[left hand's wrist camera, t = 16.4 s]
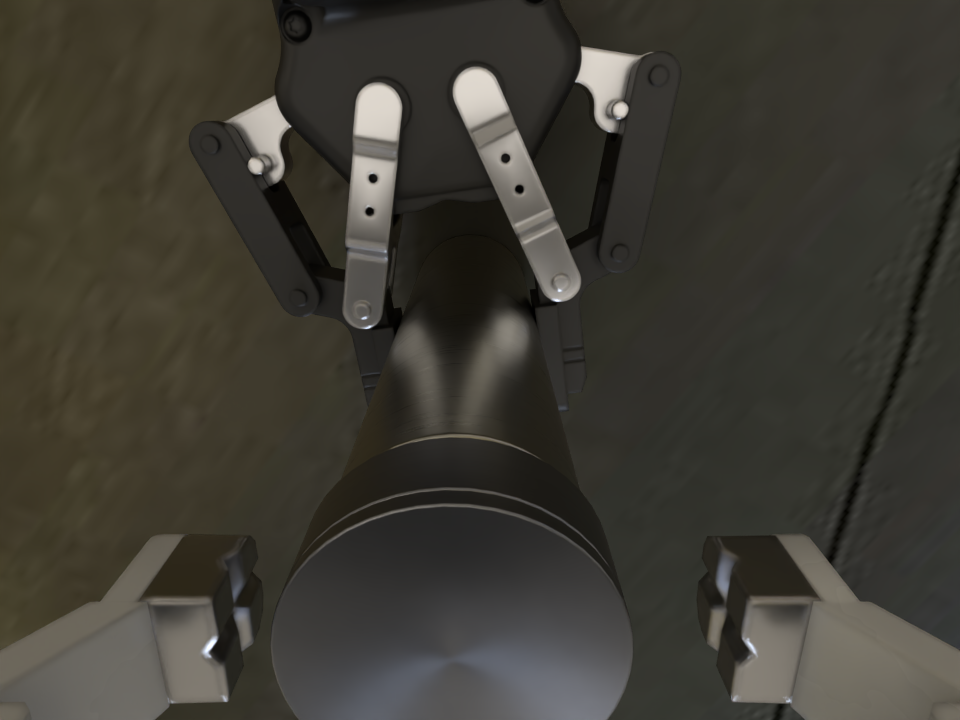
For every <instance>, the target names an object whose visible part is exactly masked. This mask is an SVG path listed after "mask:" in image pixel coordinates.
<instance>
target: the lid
mask: <svg viewBox="0 0 960 720" xmlns="http://www.w3.org/2000/svg"><path fill="white" fill-rule="evenodd" d="M270 644H271V655H272V664H273V667H274V671H275V675H276V679H277V682H278V684H279V687H280V689H281V691H282V693H283V696H284V698H285V700H286V701H287V703H288V705H289V706H290V708H291V709H292V711H293V713H294V714H295V715H296V717H297V718H298V719H299V720H608V718H609V717H610V715H611V714H612V713H613V711H614V710H615V708H616V707H617V705H618V703H619V701H620V699H621V697H622V695H623V693H624V691H625V688H626V684H627V681H628V678H629V675H630V672H631V665H632V658H633V633H632V628H631V622H630V617H629V613H628V610H627V607H626V603H625V600H624V596H623V593H622V590H621V586H620V583H619V579H618V576H617V573H616V569H615V566H614V563H613V559H612V556H611V552H610V549H609V546H608V542H607V539H606V536H605V533H604V530H603V528H602V525H601V522H600V520H599V518H598V516H597V515H596V513H595V511H594V509H593V507H592V505H591V504H590V503H589V501H588V500H587V499H586V498H585V496H584V495H583V494H582V492H581V491H580V490H579V489H578V488H577V487H576V486H575V485H574V484H573V483H572V482H571V481H570V480H569V479H568V478H567V477H566V476H564V475H563V474H562V473H560V472H559V471H558V470H556V469H555V468H554V467H552V466H551V465H549V464H548V463H546V462H544V461H542V460H541V459H539V458H537V457H535V456H533V455H532V454H529V453H527V452H524V451H522V450H519V449H517V448H514V447H512V446H508V445H504V444H501V443H497V442H493V441H488V440H481V439H474V438H456V437H447V438H436V439H426V440H422V441H417V442H412V443H407V444H404V445H401V446H398V447H395V448H392V449H389V450H387V451H385V452H383V453H381V454H378V455H376V456H374V457H372V458H370V459H368V460H367V461H365V462H364V463H362V464H361V465H359V466H357V467H356V468H354V469H353V470H351V471H350V472H349V473H348V474H347V475H346V476H345V477H343V478H342V479H341V480H340V481H339V482H338V483H337V484H336V485H335V486H334V487H333V488H332V489H331V491H330V492H329V493H328V494H327V495H326V496H325V498H324V499H323V501H322V502H321V504H320V506H319V507H318V509H317V510H316V512H315V514H314V516H313V519H312V521H311V523H310V526H309V528H308V530H307V533H306V535H305V538H304V540H303V542H302V545H301V547H300V550H299V552H298V555H297V557H296V559H295V562H294V564H293V567H292V569H291V572H290V574H289V576H288V579H287V581H286V584H285V586H284V589H283V591H282V593H281V596H280V598H279V601H278V603H277V606H276V609H275V614H274V618H273V622H272V628H271V642H270Z"/></svg>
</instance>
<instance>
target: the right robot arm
mask: <svg viewBox="0 0 960 720" xmlns="http://www.w3.org/2000/svg"><path fill="white" fill-rule="evenodd" d="M272 2H273V6H274V11H275V15H276V19H277V23H278V27H279V31H280V38H281V58H280V64H279V68H278V72H277V75H276V79H275V96H273V97H271V98H269V99H267V100H265V101H263V102H261V103H259V104H257V105H256V106H254V107H252V108H250V109H248V110H246V111H244V112H242V113H240V114H238V115H236V116H234V117H233V118H231V119H229V120H226V121H205V122H201V123H199V124H197V125H196V126H195V127H194V128H193V129H192V131H191V133H190V136H189V147H190V150H191V152H192V154H193V156H194V158H195V159H196V161H197V163H198V164H199V166H200V168H201V169H202V171H203V173H204V175H205V176H206V178H207V180H208V181H209V183H210V185H211V186H212V188H213V190H214V192H215V193H216V195H217V197H218V198H219V200H220V202H221V204H222V205H223V207H224V209H225V210H226V212H227V214H228V215H229V217H230V219H231V221H232V222H233V224H234V226H235V227H236V229H237V231H238V233H239V234H240V236H241V238H242V239H243V241H244V243H245V244H246V246H247V248H248V250H249V251H250V253H251V255H252V256H253V258H254V260H255V262H256V263H257V265H258V267H259V268H260V270H261V272H262V273H263V275H264V277H265V279H266V280H267V282H268V284H269V285H270V287H271V289H272V290H273V292H274V294H275V296H276V297H277V299H278V301H279V302H280V304H281V306H282V307H283V309H284V310H285V311H286V312H288V313H289V314H291V315H294V316H297V317H304V316H308V315H310V314H315V315H321V316H326V317H331V318H334V319H337V320H339V321H341V322H342V323H343V324H345V325H346V327H347V328H348V329H349V331H350V332H351V334H352V338H353V342H354V347H355V351H356V355H357V360H358V364H359V369H360V373H361V376H362V382H363V387H364V391H365V396H366V400H367V405H368V407H369V404H370V402H371V399H372V396H373V394H374V391H375V388H376V386H377V383H378V381H379V378H380V375H381V373H382V370H383V367H384V365H385V362H386V359H387V357H388V354H389V351H390V349H391V346H392V343H393V341H394V338H395V335H396V333H397V330H398V328H399V325H400V322H401V320H402V317H403V315H402V310H401V307H400V308H394V307H393V302H392V297H391V296H392V291H393V283H394V274H395V266H396V257H397V248H398V242H399V237H400V232H401V226H402V218H403V213H409V212H416V211H421V210H423V209H425V208H428V207H430V206H432V205H434V204H437V203H439V202H441V201H443V200H455V201H463V202H471V203H477V202H483V201H490V200H497V199H500V201H501V203H502V206H503V208H504V210H505V212H506V214H507V216H508V219H509V221H510V223H511V225H512V227H513V229H514V232H515V234H516V236H517V237H518V239H519V241H520V244H521V246H522V248H523V250H524V252H525V254H526V257H527V259H528V261H529V263H530V265H531V268H532V270H533V272H534V278H535V286H536V289H531V290H530V295H531V303H532V310H533V314H534V318H535V321H536V325H537V329H538V333H539V337H540V340H541V344H542V348H543V352H544V356H545V359H546V363H547V367H548V371H549V375H550V378H551V382H552V386H553V390H554V394H555V397H556V401H557V405H558V409H559V412H563V411H569V406H568V396H567V394H569V393H576V392H582V390H583V386H584V383H585V380H586V377H587V375H586V365H585V355H584V344H583V334H582V324H581V313H580V299H581V296H582V293H583V292H584V290H585V289H586V287H587V286H588V285H590V284H591V283H592V282H594V281H596V280H598V279H600V278H601V277H603V276H605V275H607V274H609V273H611V272H614V273H623V272H626V271H628V270H630V269H631V268H633V267H634V266H635V265H636V263H637V262H638V260H639V257H640V253H641V249H642V245H643V240H644V236H645V232H646V227H647V223H648V219H649V214H650V210H651V206H652V201H653V197H654V192H655V188H656V184H657V179H658V175H659V171H660V166H661V162H662V158H663V153H664V149H665V145H666V140H667V136H668V132H669V127H670V123H671V119H672V114H673V110H674V106H675V101H676V97H677V93H678V88H679V84H680V80H681V67H680V64H679V62H678V60H677V59H676V58H675V57H674V56H673V55H672V54H670V53H668V52H665V51H657V52H650V53H646V54H643V55H640V56H639V55H632V54H626V53H620V52H613V51H607V50H601V49H594V48H588V47H582V46H581V44H580V41H579V38H578V35H577V33H576V31H575V30H574V28H573V27H572V25H571V24H570V22H569V21H568V19H567V17H566V16H565V13H564V11H563V9H562V7H561V4H560V1H559V0H272ZM574 84H576V85H578V86H580V87H581V88H582V89H583V90H584V91H585V92H586V94H587V96H588V99H589V115H590V119H591V121H592V123H593V125H594V126H595V127H596V128H598V129H599V130H601V131H605V132H607V137H606V142H605V147H604V152H603V157H602V162H601V167H600V172H599V177H598V182H597V187H596V192H595V197H594V202H593V207H592V212H591V217H590V222H589V227H588V229H587V230H585V231H583V232H581V233H579V234H577V235H575V236H574V237H572V238H570V239H568V240H566V241H565V239H564V236H563V234H562V232H561V229H560V227H559V225H558V222H557V220H556V217H555V214H554V212H553V209H552V207H551V205H550V202H549V200H548V198H547V195H546V193H545V191H544V188H543V186H542V184H541V182H540V179H539V177H538V175H537V172H536V170H535V168H534V165H533V161H534V159H535V157H536V155H537V153H538V151H539V149H540V147H541V145H542V144H543V142H544V140H545V138H546V136H547V134H548V132H549V130H550V128H551V127H552V125H553V123H554V121H555V119H556V117H557V115H558V113H559V112H560V110H561V108H562V106H563V104H564V102H565V100H566V98H567V96H568V95H569V93H570V91H571V89H572V87H573V85H574ZM294 130H295V131H296V132H297V133H298V134H299V135H300V136H301V137H302V138H303V139H304V140H305V141H306V142H308V143H309V144H310V145H311V146H312V147H313V148H314V149H315V150H316V151H317V152H318V153H319V154H320V155H321V156H322V157H323V158H324V159H325V160H326V161H327V162H328V163H329V164H330V165H331V166H332V167H333V168H334V169H335V170H336V171H337V172H338V173H339V174H340V175H341V176H342V177H343V178H344V179H345V180H346V181H347V182H348V183H349V184H350V192H349V204H348V215H347V226H346V238H345V246H346V250H347V260H346V270H343V269H339V268H334V267H331V266H330V264H329V262H328V260H327V258H326V256H325V255H324V253H323V251H322V249H321V247H320V246H319V244H318V242H317V240H316V238H315V236H314V235H313V233H312V231H311V229H310V227H309V225H308V224H307V222H306V220H305V218H304V216H303V214H302V213H301V211H300V209H299V207H298V205H297V204H296V202H295V200H294V198H293V196H292V194H291V193H290V191H289V189H288V187H287V185H286V183H285V182H284V180H285V179H286V178H287V177H288V176H289V175H290V174H291V172H292V168H293V160H292V156H291V154H290V151H289V138H290V135H291V133H292V132H293V131H294Z"/></svg>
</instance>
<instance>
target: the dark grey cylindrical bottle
mask: <svg viewBox="0 0 960 720" xmlns="http://www.w3.org/2000/svg"><path fill="white" fill-rule="evenodd" d="M447 437H456V438H474V439H481V440H488V441H493V442H497V443H501V444H504V445H508V446H512V447H514V448H517V449H519V450H522V451H524V452H527V453H529V454H532V455H533V456H535V457H537V458H539V459H541V460H542V461H544V462H546V463H548V464H549V465H551V466H552V467H554V468H555V469H556V470H558V471H559V472H560V473H562V474H563V475H564V476H566V477H567V478H568V479H569V480H570V481H571V482H572V483H573V484H574V485H575V486H576V487H577V488H578V489H579V485H578V481H577V477H576V473H575V470H574V466H573V462H572V458H571V454H570V451H569V447H568V443H567V439H566V435H565V432H564V428H563V424H562V420H561V416H560V413H559V409H558V405H557V401H556V397H555V394H554V390H553V386H552V382H551V378H550V375H549V371H548V367H547V363H546V359H545V356H544V352H543V348H542V344H541V340H540V337H539V333H538V329H537V325H536V321H535V318H534V314H533V310H532V306H531V302H530V298H529V295H528V291H527V287H526V283H525V279H524V276H523V272H522V270H521V267H520V265H519V263H518V261H517V259H516V258H515V257H514V255H513V254H512V253H511V252H510V251H509V250H508V249H507V248H506V247H505V246H503V245H502V244H500V243H499V242H497V241H495V240H493V239H491V238H487V237H484V236H479V235H463V236H458V237H454V238H451V239H449V240H447V241H445V242H443V243H441V244H440V245H439V246H437V247H436V248H435V249H434V250H433V251H432V252H431V253H430V254H429V255H428V256H427V258H426V259H425V261H424V263H423V265H422V267H421V269H420V272H419V275H418V277H417V280H416V282H415V285H414V288H413V290H412V293H411V296H410V298H409V301H408V304H407V306H406V309H405V312H404V314H403V317H402V320H401V322H400V325H399V328H398V330H397V333H396V335H395V338H394V341H393V343H392V346H391V349H390V351H389V354H388V357H387V359H386V362H385V365H384V367H383V370H382V373H381V375H380V378H379V381H378V383H377V386H376V388H375V391H374V394H373V396H372V399H371V402H370V404H369V407H368V410H367V412H366V415H365V418H364V420H363V423H362V426H361V428H360V431H359V433H358V436H357V439H356V441H355V444H354V447H353V449H352V452H351V455H350V457H349V460H348V463H347V465H346V468H345V471H344V473H343V476H342V478H343V477H345V476H346V475H347V474H348V473H349V472H350V471H351V470H353V469H354V468H356V467H357V466H359V465H361V464H362V463H364V462H365V461H367V460H368V459H370V458H372V457H374V456H376V455H378V454H381V453H383V452H385V451H387V450H389V449H392V448H395V447H398V446H401V445H404V444H407V443H412V442H417V441H422V440H426V439H436V438H447ZM579 490H580V489H579Z"/></svg>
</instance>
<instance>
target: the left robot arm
mask: <svg viewBox="0 0 960 720" xmlns="http://www.w3.org/2000/svg"><path fill="white" fill-rule="evenodd" d="M257 559H258V554H257V549H256V543H255V540H254V539H253V538H252V537H251V536H250V535H204V534H189V535H186V534H158V535H155V536H152V537H151V538H150V539H149V540H148V541H147V542H146V544H145V545H144V546H143V547H142V549H141V550H140V551H139V553H138V554H137V555H136V556H135V558H134V559H133V560H132V561H131V563H130V564H129V565H128V567H127V568H126V569H125V570H124V572H123V573H122V574H121V575H120V577H119V578H118V579H117V581H116V582H115V583H114V584H113V586H112V587H111V588H110V589H109V591H108V592H107V593H106V595H105V596H104V597H103V598H102V600H101V601H100V602H89V603H87V604H85V605H83V606H81V607H79V608H77V609H76V610H74V611H72V612H70V613H68V614H66V615H64V616H63V617H61V618H59V619H57V620H55V621H53V622H52V623H50V624H48V625H46V626H44V627H42V628H40V629H39V630H37V631H35V632H33V633H31V634H29V635H27V636H26V637H24V638H22V639H20V640H18V641H16V642H15V643H13V644H11V645H9V646H7V647H5V648H3V649H2V650H0V720H155V719H156V718H157V717H158V716H159V715H161V714H162V713H163V712H164V711H165V710H166V709H167V708H168V707H169V703H200V702H228V701H229V698H230V696H231V694H232V691H233V689H234V687H235V685H236V682H237V680H238V678H239V675H240V673H241V671H242V668H243V666H244V665H243V658H242V651H243V650H245V649H246V648H247V647H249V646H250V645H251V644H253V643H254V640H255V638H256V635H257V633H258V630H259V627H260V622H261V617H262V612H263V590H262V582H261V580H260V579H259V578H258V577H257V576H256V575H255V574H254V573H253V572H252V570H253V568H254V566H255V564H256V562H257ZM702 559H703V562H704V564H705V566H706V568H707V570H708V572H707V573H706V574H705V575H704V576H703V577H702V578H701V579H700V580H699V582H698V591H697V610H698V619H699V623H700V627H701V630H702V633H703V635H704V638H705V640H706V643H707V644H709V645H710V646H711V647H713V648H714V649H715V650H717V651H718V658H717V665H716V666H717V668H718V671H719V673H720V675H721V678H722V680H723V682H724V684H725V687H726V689H727V691H728V694H729V696H730V698H731V700H732V702H759V703H791V707H792V708H793V709H794V710H795V711H796V712H798V713H799V714H800V715H801V716H802V717H803V718H804V719H805V720H960V650H958V649H956V648H954V647H953V646H951V645H949V644H947V643H945V642H943V641H942V640H940V639H938V638H936V637H934V636H932V635H931V634H929V633H927V632H925V631H923V630H921V629H919V628H918V627H916V626H914V625H912V624H910V623H908V622H907V621H905V620H903V619H901V618H899V617H897V616H895V615H894V614H892V613H890V612H888V611H886V610H884V609H883V608H881V607H879V606H877V605H875V604H873V603H871V602H860V601H859V600H858V598H857V597H856V596H855V595H854V593H853V592H852V591H851V590H850V588H849V587H848V586H847V584H846V583H845V582H844V581H843V579H842V578H841V577H840V576H839V574H838V573H837V572H836V571H835V569H834V568H833V567H832V565H831V564H830V563H829V562H828V560H827V559H826V558H825V557H824V555H823V554H822V553H821V552H820V550H819V549H818V548H817V546H816V545H815V544H814V543H813V541H812V540H811V539H810V538H809V537H808V536H806V535H804V534H776V535H769V536H707V539H706V541H705V543H704V547H703V554H702Z"/></svg>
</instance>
